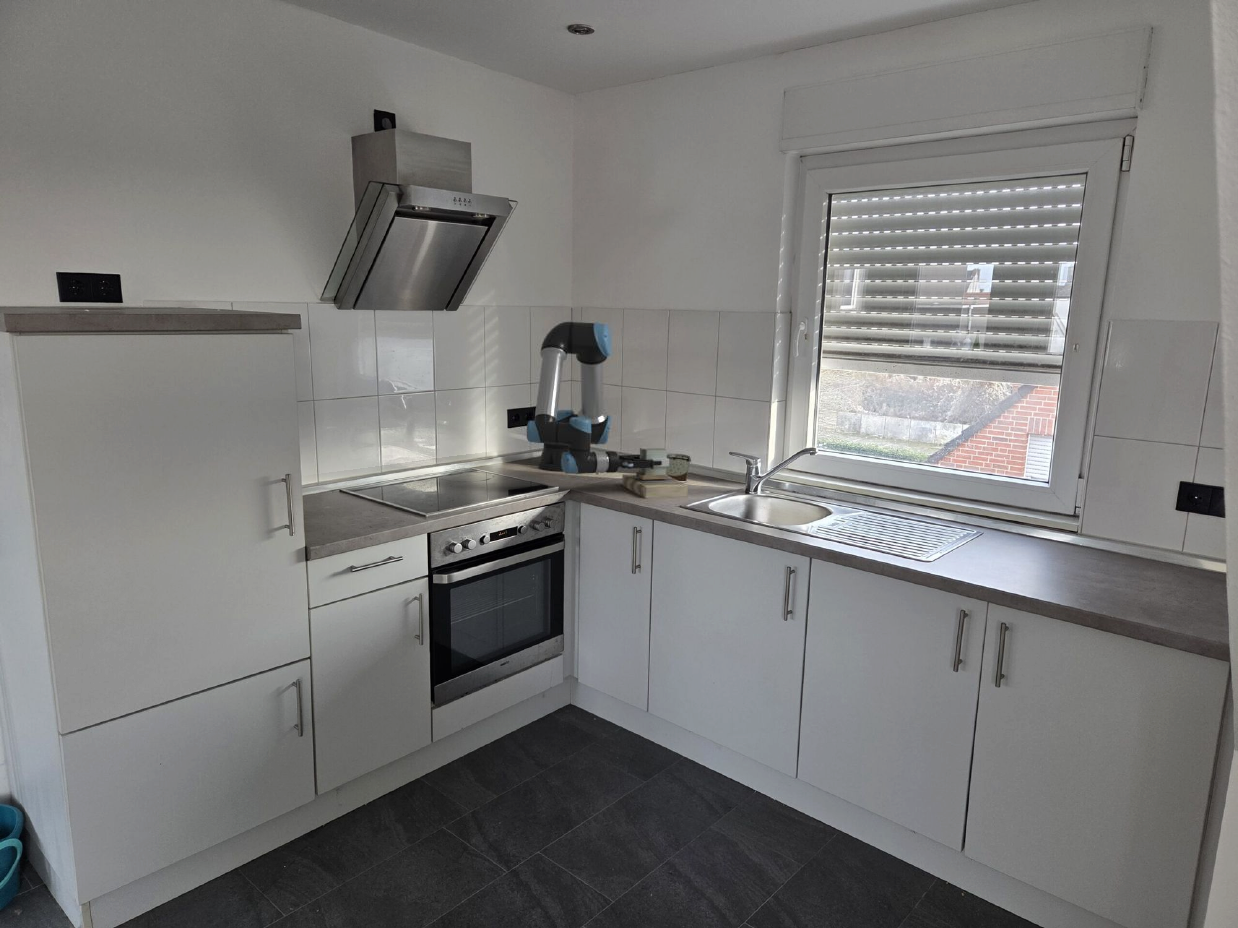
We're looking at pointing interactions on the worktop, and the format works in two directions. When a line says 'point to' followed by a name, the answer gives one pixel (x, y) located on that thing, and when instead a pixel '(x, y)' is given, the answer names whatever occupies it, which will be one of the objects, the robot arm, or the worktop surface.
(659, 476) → the pale green block
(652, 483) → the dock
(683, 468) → the food container
